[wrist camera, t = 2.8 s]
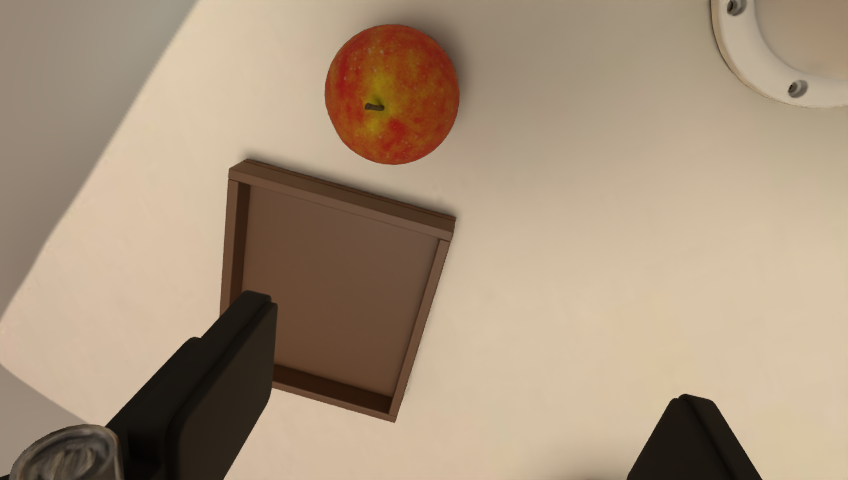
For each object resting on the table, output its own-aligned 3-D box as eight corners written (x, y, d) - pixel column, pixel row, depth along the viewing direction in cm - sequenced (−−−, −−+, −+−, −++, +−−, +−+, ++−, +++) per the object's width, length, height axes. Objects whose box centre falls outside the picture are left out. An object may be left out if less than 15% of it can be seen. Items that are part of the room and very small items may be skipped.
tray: (246, 158, 31) (228, 168, 29) (456, 217, 31) (453, 232, 28) (231, 352, 38) (215, 371, 36) (400, 400, 38) (394, 423, 36)
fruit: (487, 83, 27) (486, 105, 20) (411, 169, 30) (385, 215, 22) (395, -5, 26) (358, -16, 18) (324, 93, 28) (268, 117, 21)
